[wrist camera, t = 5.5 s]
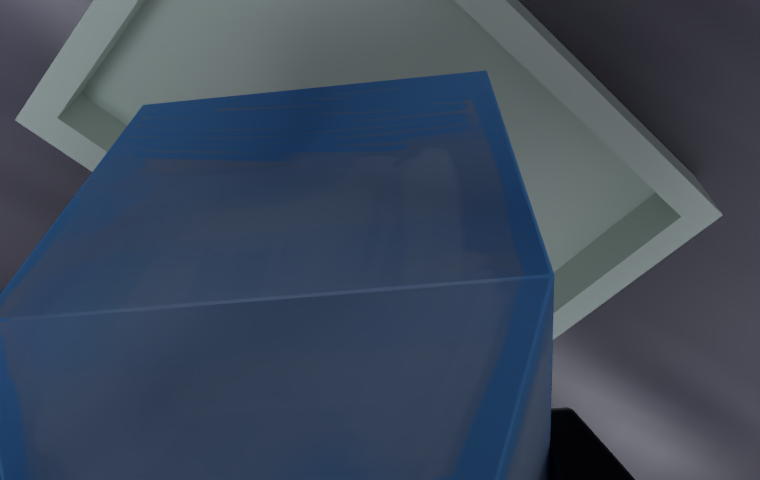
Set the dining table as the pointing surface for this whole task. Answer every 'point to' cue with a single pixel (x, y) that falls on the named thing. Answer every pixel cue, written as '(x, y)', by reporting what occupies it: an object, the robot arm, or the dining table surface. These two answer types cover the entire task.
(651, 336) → the dining table surface
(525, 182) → the tray
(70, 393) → the perfume bottle
